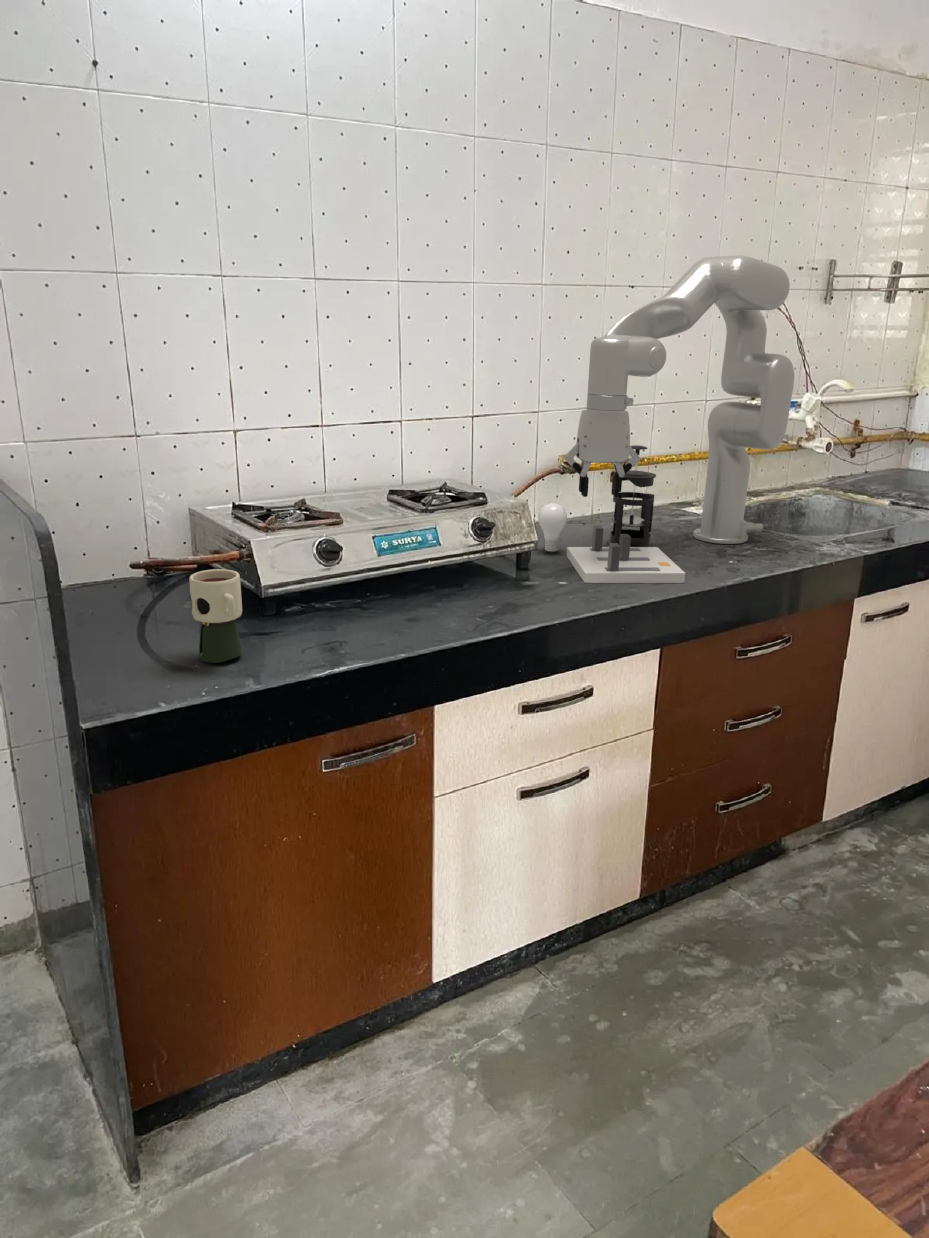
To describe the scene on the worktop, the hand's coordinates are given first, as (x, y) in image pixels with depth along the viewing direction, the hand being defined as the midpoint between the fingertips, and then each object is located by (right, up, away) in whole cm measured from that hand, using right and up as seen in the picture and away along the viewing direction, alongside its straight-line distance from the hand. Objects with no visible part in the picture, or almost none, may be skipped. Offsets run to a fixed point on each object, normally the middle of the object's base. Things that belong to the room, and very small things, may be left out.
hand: (599, 494), depth 175 cm
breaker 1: (+1, -10, +12) cm, 15 cm away
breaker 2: (+2, -15, -3) cm, 15 cm away
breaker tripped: (+6, -12, +5) cm, 15 cm away
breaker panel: (+6, -15, +6) cm, 17 cm away
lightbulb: (-8, -10, +17) cm, 22 cm away
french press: (+10, -9, +22) cm, 26 cm away
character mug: (-64, -31, -45) cm, 84 cm away
